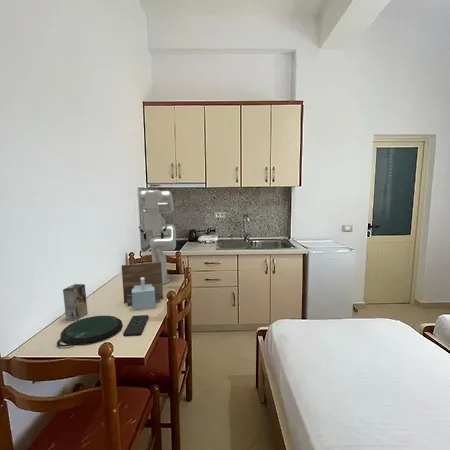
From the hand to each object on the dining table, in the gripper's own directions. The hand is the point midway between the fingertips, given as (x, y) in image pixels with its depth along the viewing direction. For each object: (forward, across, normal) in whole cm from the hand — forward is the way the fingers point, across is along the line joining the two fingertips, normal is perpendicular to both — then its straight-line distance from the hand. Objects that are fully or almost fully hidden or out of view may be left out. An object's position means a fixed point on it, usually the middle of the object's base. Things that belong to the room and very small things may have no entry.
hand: (153, 239), depth 188 cm
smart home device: (+35, -12, -42) cm, 56 cm away
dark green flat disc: (+35, -33, -42) cm, 64 cm away
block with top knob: (+34, -8, -16) cm, 39 cm away
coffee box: (+34, -42, -20) cm, 58 cm away
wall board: (+34, -8, -11) cm, 37 cm away
